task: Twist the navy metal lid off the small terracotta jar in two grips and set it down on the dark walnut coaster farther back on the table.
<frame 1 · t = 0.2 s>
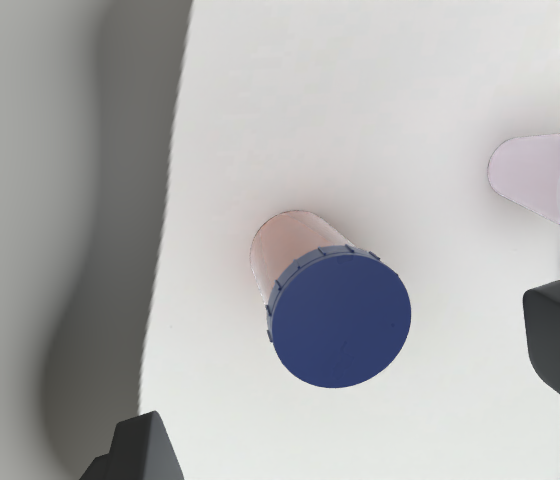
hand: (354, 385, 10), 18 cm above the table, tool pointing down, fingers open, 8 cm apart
jar: (294, 254, 28), on the table
smoothie: (513, 167, 29), on the table
jar lid: (340, 320, 19), point 9 cm above the table, screwed on, not yet turned
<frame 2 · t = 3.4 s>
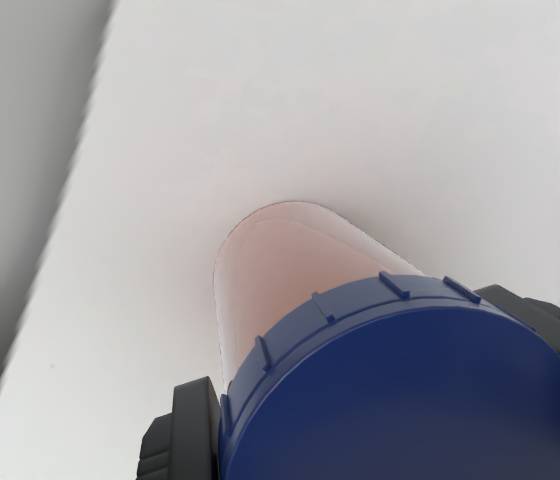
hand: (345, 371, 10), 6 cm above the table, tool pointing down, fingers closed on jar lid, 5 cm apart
jar: (292, 278, 16), on the table
jar lid: (406, 470, 7), point 9 cm above the table, screwed on, not yet turned, touching gripper
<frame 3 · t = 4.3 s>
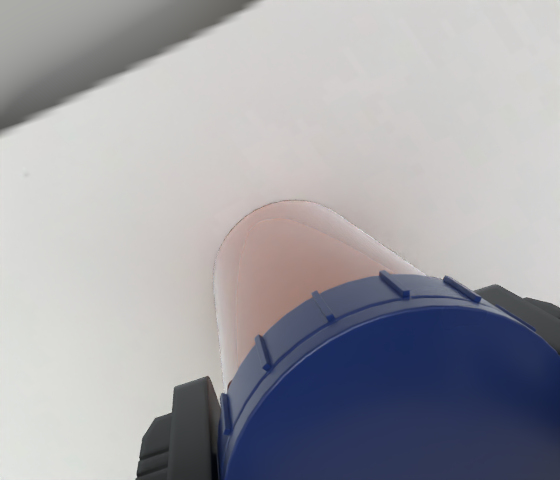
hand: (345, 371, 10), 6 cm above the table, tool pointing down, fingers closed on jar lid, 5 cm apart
jar: (291, 276, 16), on the table
jar lid: (405, 469, 7), point 9 cm above the table, turned 39° so far, risen 0.1 cm, still on its thread, touching gripper
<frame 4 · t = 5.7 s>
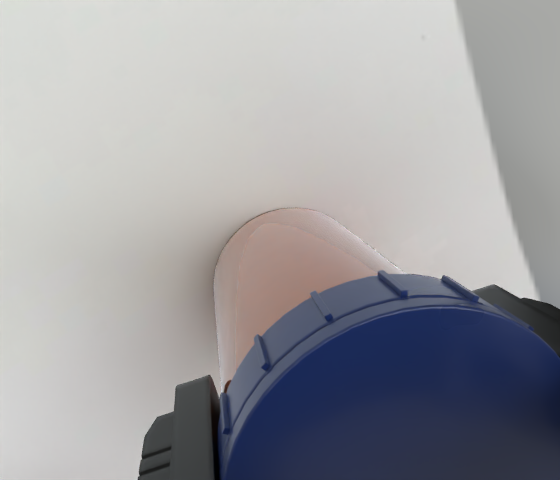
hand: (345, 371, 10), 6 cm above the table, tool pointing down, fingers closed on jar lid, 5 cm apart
jar: (290, 283, 17), on the table, touching jar lid
jar lid: (404, 468, 8), point 9 cm above the table, off its thread, touching gripper, jar
when the fingers open (6 cm above the table, at t = 6.1 s): jar lid stays where it is, resting on jar.
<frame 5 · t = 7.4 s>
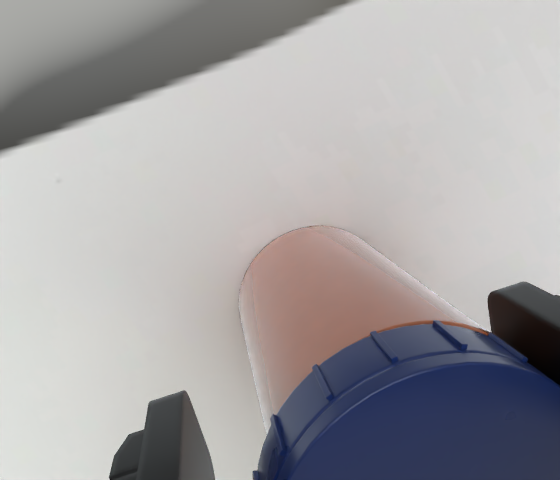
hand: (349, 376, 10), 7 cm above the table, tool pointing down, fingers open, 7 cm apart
jar: (314, 299, 17), on the table, touching jar lid
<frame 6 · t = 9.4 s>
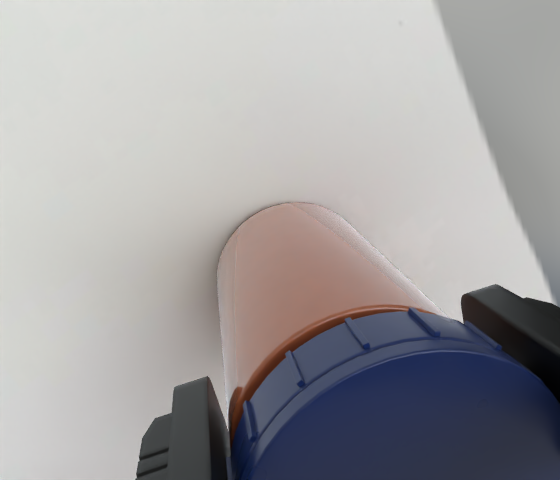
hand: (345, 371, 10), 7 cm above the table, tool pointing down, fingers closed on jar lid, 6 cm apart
jar: (293, 275, 17), on the table
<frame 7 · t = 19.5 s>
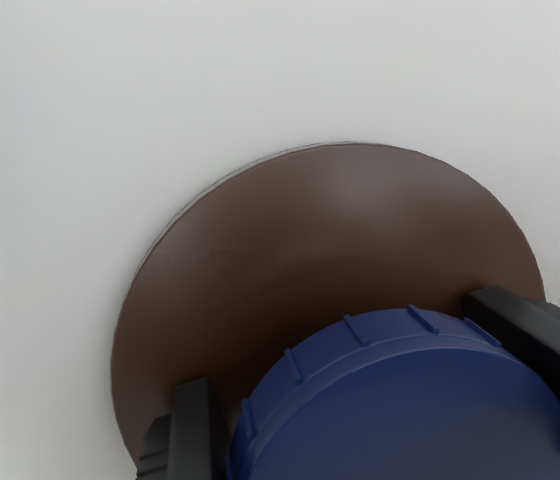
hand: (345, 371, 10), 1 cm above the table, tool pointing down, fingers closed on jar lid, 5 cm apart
coaster: (337, 358, 11), on the table
when the fingers open (1 cm above the table, at t = 23.9 s): jar lid drops 2 cm, resting on coaster.
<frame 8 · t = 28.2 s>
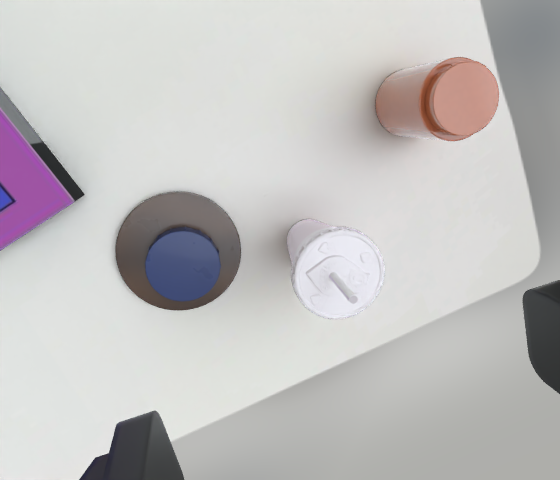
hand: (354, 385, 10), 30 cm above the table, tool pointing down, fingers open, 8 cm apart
jar: (406, 103, 39), on the table
smoothie: (307, 239, 41), on the table
jar lid: (183, 265, 38), point 2 cm above the table, off its thread, touching coaster
coaster: (179, 251, 39), on the table
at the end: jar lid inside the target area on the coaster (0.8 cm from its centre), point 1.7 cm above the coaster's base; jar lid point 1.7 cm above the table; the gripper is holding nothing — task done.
